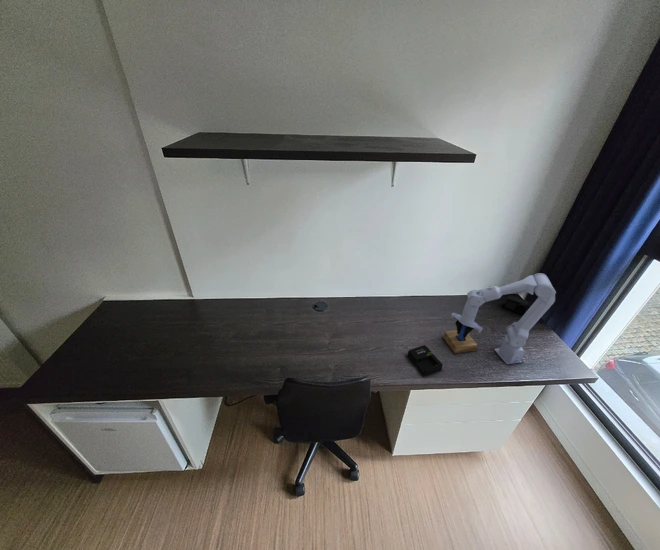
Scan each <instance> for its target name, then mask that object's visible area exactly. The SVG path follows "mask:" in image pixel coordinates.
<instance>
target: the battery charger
mask: <svg viewBox="0 0 660 550" xmlns="http://www.w3.org/2000/svg"><path fill="white" fill-rule="evenodd" d="M407 357H408V359H409V360H410V361H411V362H412V364H413V365H415V367H416V368H417V370H418V372H419V373H420V374H421V375H422V376H423V377H426V376H429V375H432V374H434V373H438V372H440V371H442V369H443V363H442V362H441V361H440V359H439V358H438V357H437V356H436V355H435V354H434V353H433V352H432V350H430V348H429V347H428V346H427V345H426V344H424V345H420V346H417V347H414V348H412V349H408V351H407Z"/></svg>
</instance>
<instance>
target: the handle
mask: <svg viewBox="0 0 660 550" xmlns="http://www.w3.org/2000/svg"><path fill="white" fill-rule="evenodd" d="M467 327H468V326H465V325H463V324H462V326H461V329H460V332H459V335H458V340H460V341H462V340H463V339H464V334H465V331H466V328H467Z"/></svg>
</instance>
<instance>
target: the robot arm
mask: <svg viewBox="0 0 660 550" xmlns="http://www.w3.org/2000/svg"><path fill="white" fill-rule="evenodd" d="M519 292H525V293H527V294H530V295H534V294H535V296H537V298H536V299H535V301H534V302H533V303H532V305H531V306H529V308H527V309H526V311H525V313H524V314H522V316H521V317H520V318H519V320H518V321H514V322H513V323H511V324H510V325H508V326H507V327H506V328H505V331H506V334H505V336H504V338H503V340H502V342H501V345H500V347H497V348H494V349H493V350H494V351H495V353H496V354H497V355H498V356H499V357H500V358H501V360H502V361H503V362H504V363H505V364H506V365H513V364H519V363H522V362H523V361H522V360H523V358H524V356H525V354H526V351H525V350H524V349H523V347H524V346H525V345H526V344H527V343H526V342H527V340H528V339H529V334H530V330H531V329H532V328H533V327H534V326H535V325H536V324H537V323H538V321H539V320H540V319H541V318H542V317H543V316H544V315H545V314H546V312H548V310H549V309H550V308H552V306H553V305H554V303H555V302H556V294H557V291H556V289H555V287H553V284H552V282H551V281H550V279H549V277H548V276H547V274H545V273H541V272H539V273H538V272H537V273H535V274H532V275H528V276H526V277H525V278H523V279H521V280H518V281H515V282H512V283H508V284H506V285H503V286H497V285H493V286H492V285H490V286H488V287H486V288H481V289H471V290H470V291H469V292H467V293H466V297H467V300H466V301H465V303H464V307H463V310H462V313H461V314H459V313H456V312H452V313H451V315H450V318H452V319H455V320H456V321H455V327H456V330H457V334H459V332H460V329H461V326H462V324H463V325H465V326H468V327H467V328H466V331H465V334H464V338H465V337H466V336H467V335H468V334H470V333H471V332H472V331H473V330H476V331H477V332H478V333H481V332H482V331H483V329H484V328H483V327H482V326H481V325H479V324H478V323H477V322H476V321H475V319H476V317H477V314H478V311H479V308H480V307H481V306H483V305H484V304H485V303H488V302H491V301H496V300H499V299H501V298H502V296H504V295H509V294H514V293H519Z"/></svg>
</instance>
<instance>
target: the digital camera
mask: <svg viewBox="0 0 660 550" xmlns="http://www.w3.org/2000/svg"><path fill="white" fill-rule="evenodd" d="M529 302H530V301H528V300H525V299H522V298H520V297H516V296H512V295H508V296H507V298H506V300H505V303H504V306H503V309H506V310H509V311H512V312H515V313H518V314H520V315H524V314H525V313H526V312H527V310H528V307H529Z"/></svg>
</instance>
